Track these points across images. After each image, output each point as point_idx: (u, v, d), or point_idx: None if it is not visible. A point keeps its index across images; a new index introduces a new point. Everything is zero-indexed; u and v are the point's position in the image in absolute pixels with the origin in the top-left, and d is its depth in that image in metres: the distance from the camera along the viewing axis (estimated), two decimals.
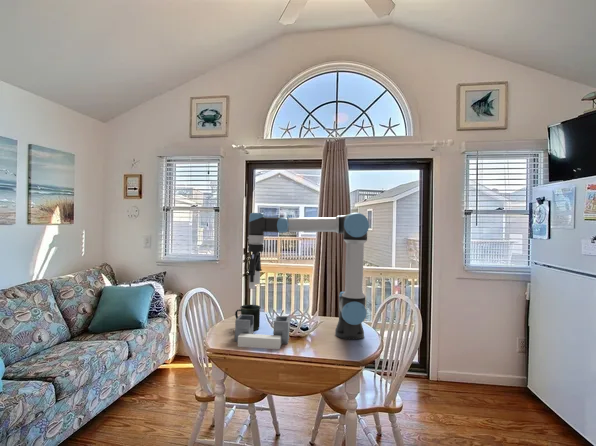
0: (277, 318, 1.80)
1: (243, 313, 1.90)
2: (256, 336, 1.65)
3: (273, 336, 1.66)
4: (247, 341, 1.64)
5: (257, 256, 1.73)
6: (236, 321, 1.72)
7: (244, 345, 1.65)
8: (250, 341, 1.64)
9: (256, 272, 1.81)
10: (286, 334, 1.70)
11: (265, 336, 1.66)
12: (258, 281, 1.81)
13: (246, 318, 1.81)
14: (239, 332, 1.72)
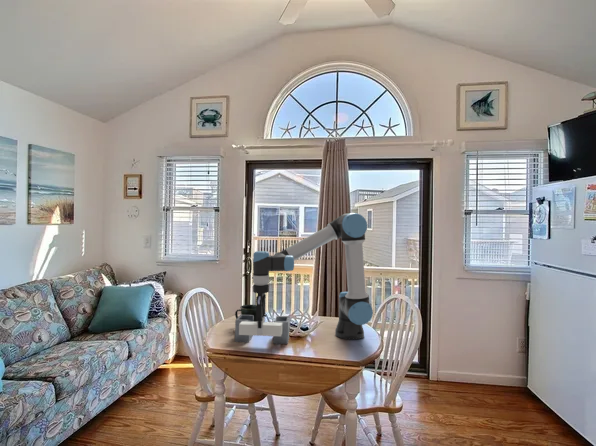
0: (277, 318, 1.80)
1: (243, 313, 1.90)
2: None
3: (274, 323, 1.66)
4: (248, 329, 1.64)
5: (263, 298, 1.64)
6: (236, 321, 1.72)
7: (245, 332, 1.65)
8: (251, 328, 1.64)
9: None
10: (286, 334, 1.70)
11: (266, 323, 1.66)
12: None
13: (246, 318, 1.81)
14: None
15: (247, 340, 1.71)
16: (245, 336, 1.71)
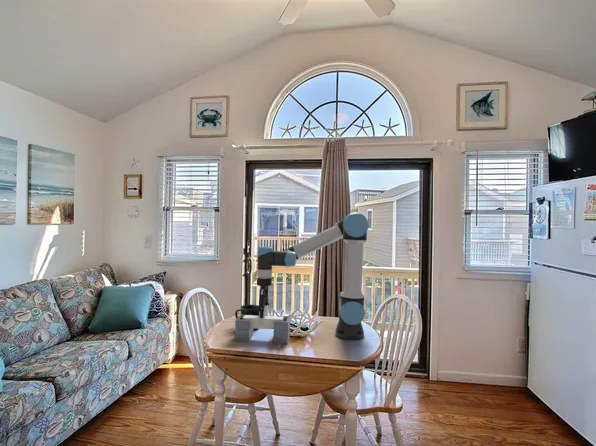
0: None
1: (243, 313, 1.90)
2: None
3: (276, 317, 1.76)
4: (252, 322, 1.74)
5: (266, 290, 1.74)
6: (236, 321, 1.72)
7: None
8: (254, 321, 1.74)
9: (264, 307, 1.81)
10: (286, 334, 1.70)
11: (268, 317, 1.76)
12: (266, 315, 1.81)
13: None
14: (239, 332, 1.72)
15: (247, 340, 1.71)
16: (245, 336, 1.71)
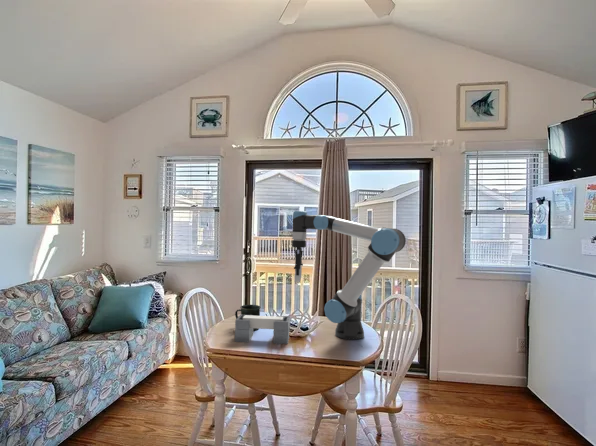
0: None
1: (243, 313, 1.90)
2: (260, 317, 1.75)
3: (276, 317, 1.76)
4: (252, 322, 1.74)
5: (301, 251, 1.85)
6: (236, 321, 1.72)
7: None
8: (254, 321, 1.74)
9: None
10: (286, 334, 1.70)
11: (268, 317, 1.76)
12: (300, 274, 1.94)
13: None
14: (239, 332, 1.72)
15: (247, 340, 1.71)
16: (245, 336, 1.71)
